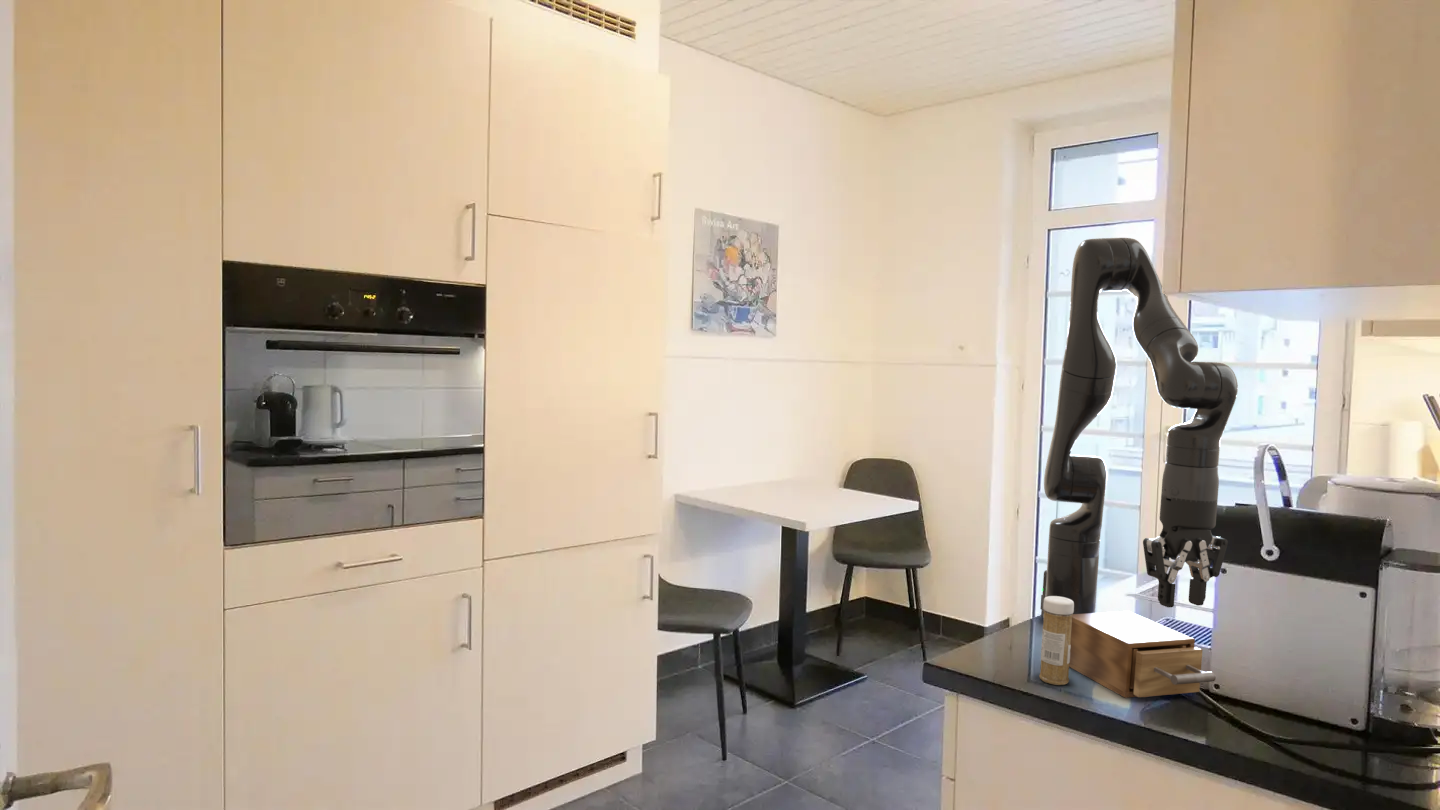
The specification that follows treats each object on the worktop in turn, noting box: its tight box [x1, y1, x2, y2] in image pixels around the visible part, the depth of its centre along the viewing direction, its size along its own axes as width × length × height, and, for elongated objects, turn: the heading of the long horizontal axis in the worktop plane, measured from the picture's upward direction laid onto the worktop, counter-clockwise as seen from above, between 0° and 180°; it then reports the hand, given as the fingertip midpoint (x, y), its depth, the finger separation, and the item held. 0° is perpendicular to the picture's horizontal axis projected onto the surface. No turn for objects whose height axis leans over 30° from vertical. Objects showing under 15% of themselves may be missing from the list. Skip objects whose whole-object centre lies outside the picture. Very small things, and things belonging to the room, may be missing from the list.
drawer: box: [1130, 644, 1217, 698], centre depth 140 cm, size 18×11×7 cm, turn 16°
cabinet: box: [1069, 610, 1196, 699], centre depth 145 cm, size 15×13×9 cm
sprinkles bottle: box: [1039, 596, 1074, 686], centre depth 142 cm, size 5×5×14 cm
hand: (1180, 604), depth 134 cm, fingers open, 5 cm apart
